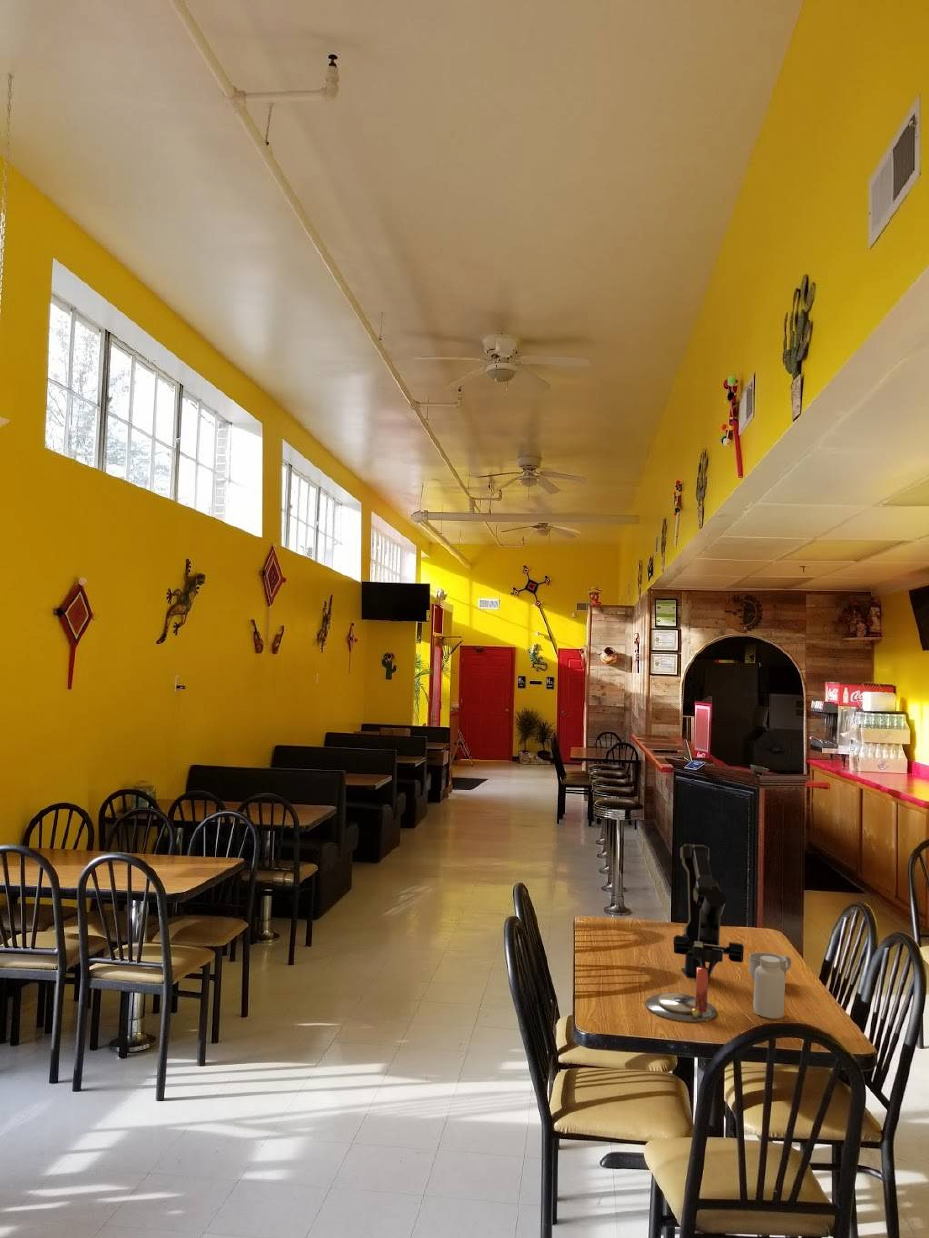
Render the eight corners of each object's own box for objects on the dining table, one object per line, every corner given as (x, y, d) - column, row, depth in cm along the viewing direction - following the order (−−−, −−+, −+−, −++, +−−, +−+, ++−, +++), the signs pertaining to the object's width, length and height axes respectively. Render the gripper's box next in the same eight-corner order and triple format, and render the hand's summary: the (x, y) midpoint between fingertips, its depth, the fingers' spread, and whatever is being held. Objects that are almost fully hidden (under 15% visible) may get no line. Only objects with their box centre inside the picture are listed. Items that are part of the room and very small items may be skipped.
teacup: (759, 990, 267) (760, 962, 267) (741, 977, 277) (742, 950, 278) (802, 988, 269) (803, 961, 270) (782, 976, 280) (783, 950, 280)
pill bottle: (772, 1021, 242) (774, 964, 243) (747, 1011, 249) (748, 956, 249) (789, 1016, 247) (791, 960, 248) (764, 1006, 253) (766, 952, 254)
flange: (649, 1002, 250) (650, 957, 250) (678, 994, 257) (679, 951, 258) (692, 1020, 238) (693, 973, 238) (721, 1012, 245) (722, 966, 245)
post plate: (637, 995, 257) (638, 984, 258) (703, 996, 258) (703, 985, 259) (655, 1021, 238) (656, 1009, 239) (726, 1023, 240) (726, 1011, 240)
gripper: (743, 944, 258) (741, 996, 247) (676, 935, 264) (672, 986, 252) (744, 923, 251) (742, 976, 240) (675, 915, 256) (671, 966, 245)
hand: (706, 977), depth 245 cm, fingers closed
